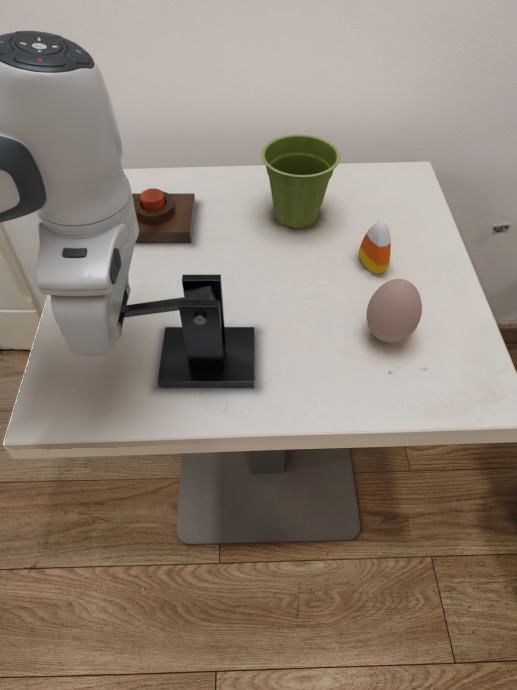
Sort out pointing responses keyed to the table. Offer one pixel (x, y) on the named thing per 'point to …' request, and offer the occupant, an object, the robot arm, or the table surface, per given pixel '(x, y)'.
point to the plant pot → (299, 176)
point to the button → (152, 199)
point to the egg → (394, 310)
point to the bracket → (206, 344)
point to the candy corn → (376, 248)
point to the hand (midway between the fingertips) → (118, 316)
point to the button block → (166, 219)
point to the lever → (163, 303)
